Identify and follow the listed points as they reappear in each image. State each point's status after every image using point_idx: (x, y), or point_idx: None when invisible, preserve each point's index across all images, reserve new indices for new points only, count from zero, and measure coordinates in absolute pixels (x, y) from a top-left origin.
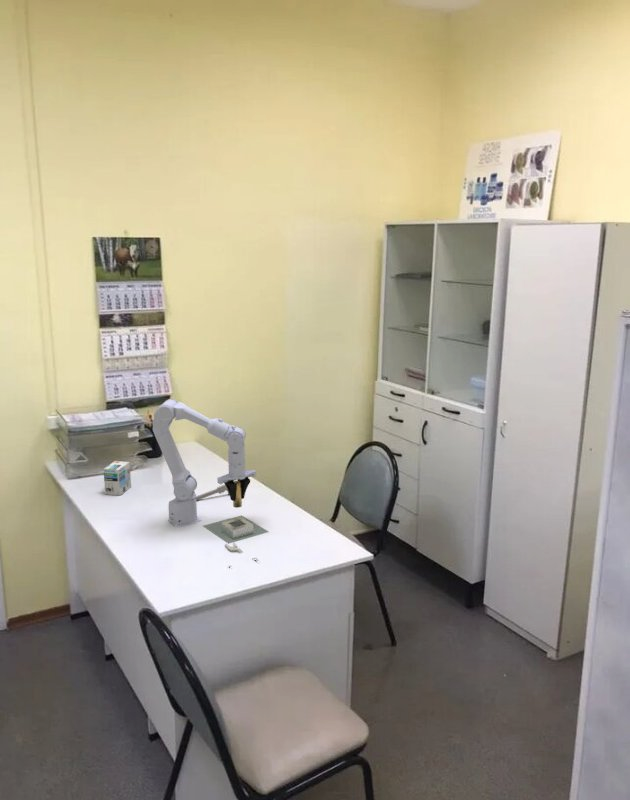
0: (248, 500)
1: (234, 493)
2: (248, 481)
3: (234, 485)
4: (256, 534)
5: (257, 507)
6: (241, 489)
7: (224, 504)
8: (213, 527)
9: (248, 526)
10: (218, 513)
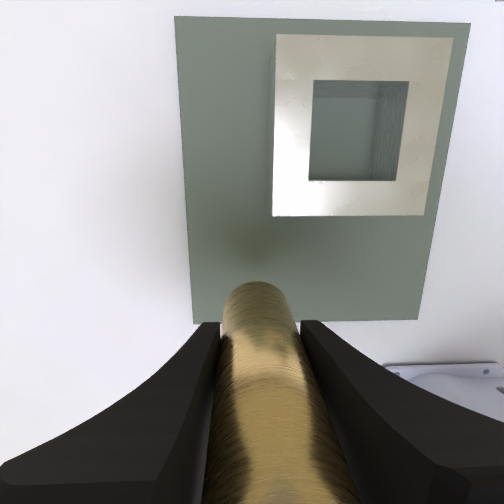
0: None
1: (348, 358)
2: (38, 488)
3: (492, 451)
4: (263, 31)
5: (69, 371)
6: (221, 400)
7: None
8: (391, 273)
9: (319, 37)
10: None
